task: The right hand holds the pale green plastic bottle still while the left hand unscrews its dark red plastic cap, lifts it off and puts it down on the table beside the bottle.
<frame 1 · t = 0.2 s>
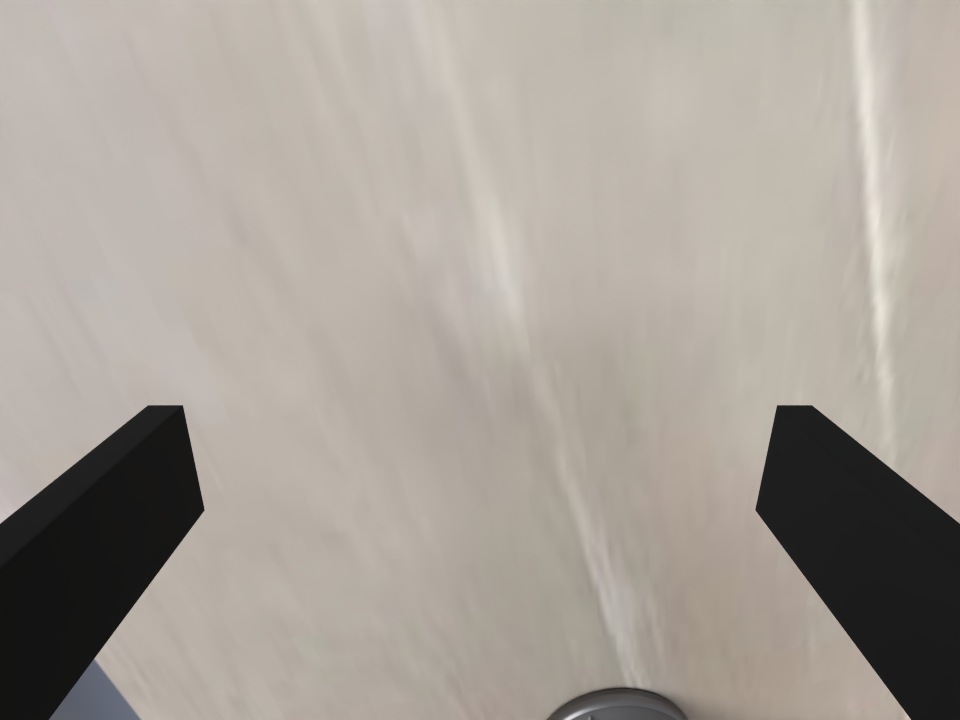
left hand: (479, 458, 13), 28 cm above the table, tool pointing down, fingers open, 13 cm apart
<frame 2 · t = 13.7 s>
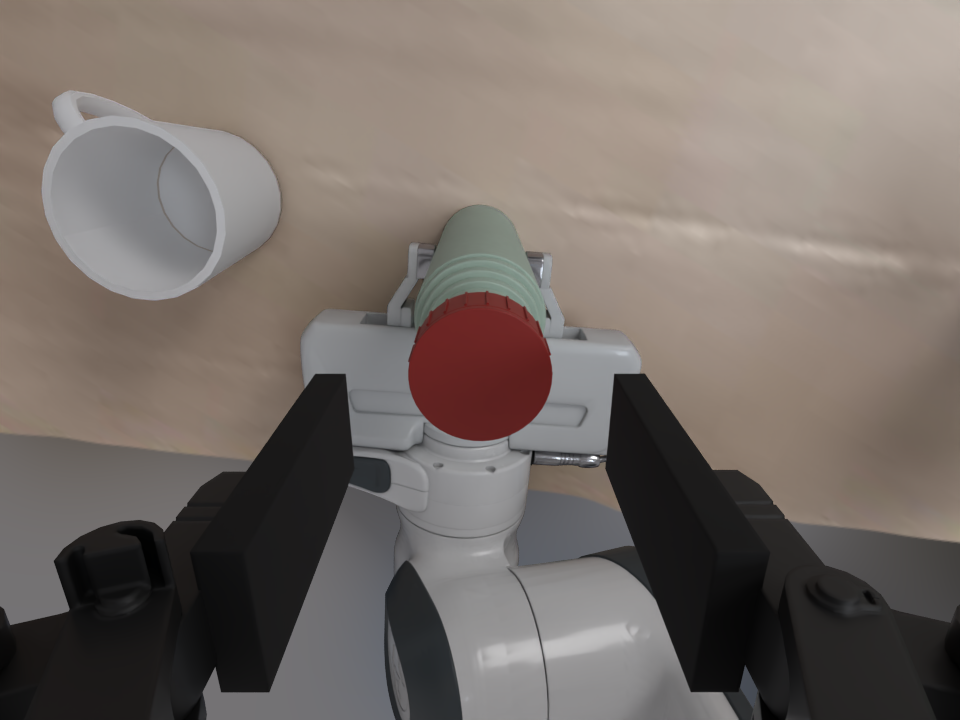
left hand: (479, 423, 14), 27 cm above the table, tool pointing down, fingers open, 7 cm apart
bottle: (479, 244, 39), on the table, touching right hand
cap: (480, 374, 18), point 23 cm above the table, screwed on, not yet turned
mug: (213, 180, 38), on the table
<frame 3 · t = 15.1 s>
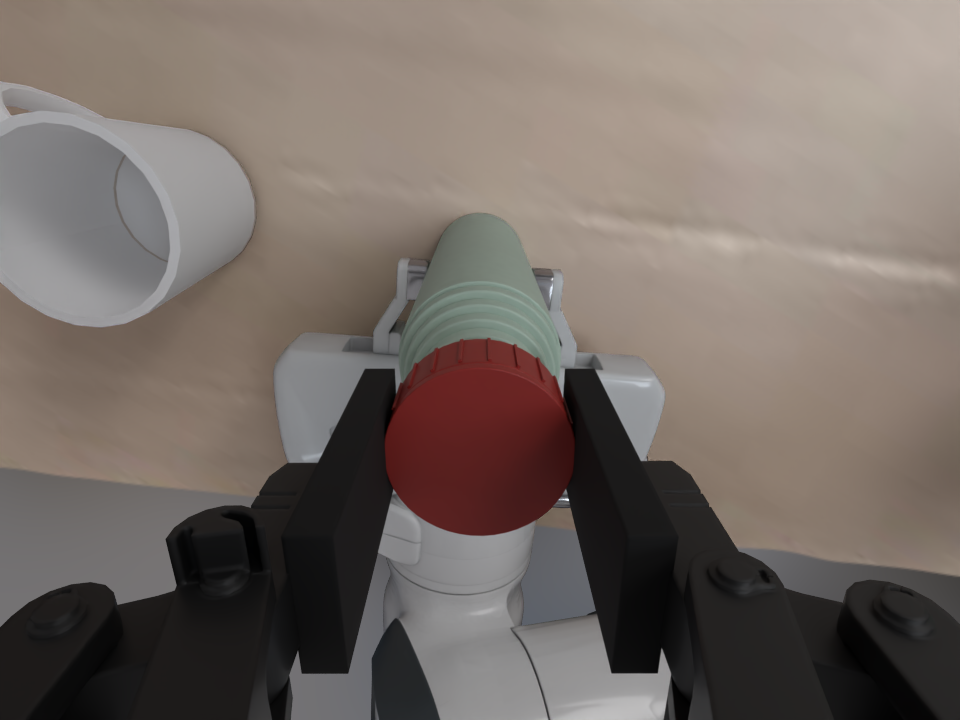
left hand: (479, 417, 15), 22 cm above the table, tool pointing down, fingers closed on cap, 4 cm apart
bottle: (479, 257, 35), on the table, touching right hand
cap: (479, 450, 13), point 23 cm above the table, screwed on, not yet turned, touching left hand
mug: (178, 185, 33), on the table
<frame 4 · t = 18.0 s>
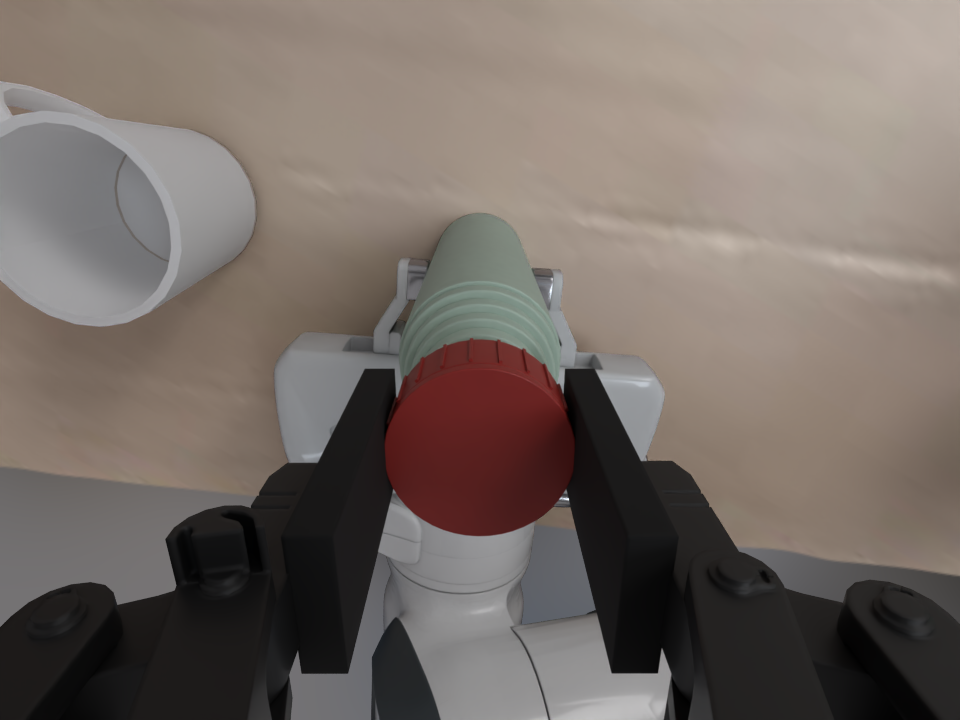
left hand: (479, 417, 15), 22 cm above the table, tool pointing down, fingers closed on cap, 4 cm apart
bottle: (479, 257, 35), on the table, touching right hand
cap: (479, 451, 13), point 23 cm above the table, turned 80° so far, risen 0.1 cm, still on its thread, touching left hand
mug: (179, 185, 34), on the table
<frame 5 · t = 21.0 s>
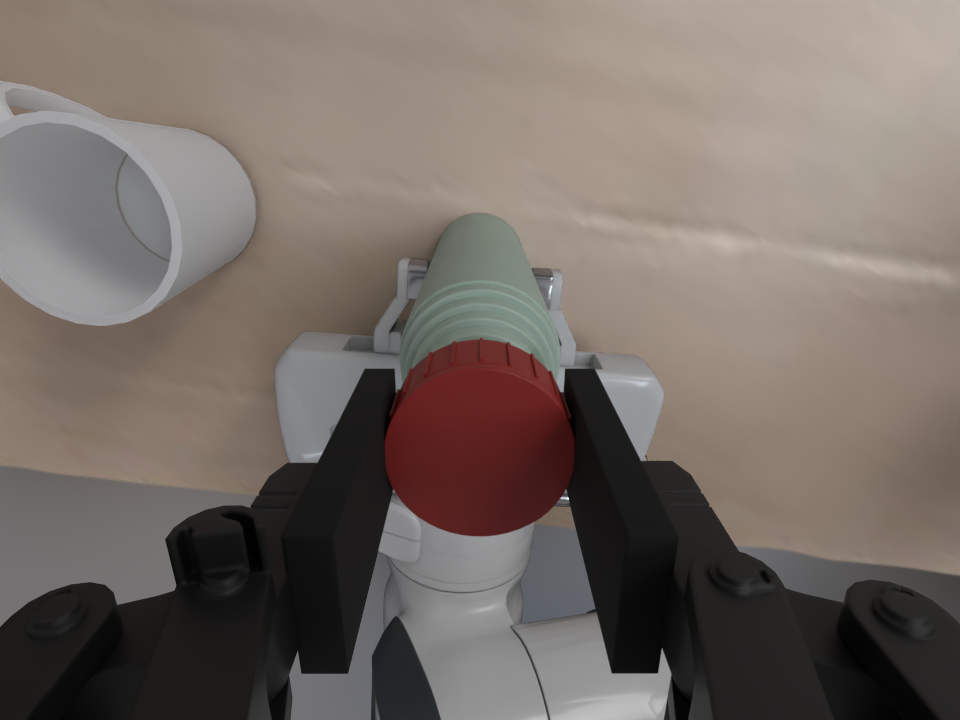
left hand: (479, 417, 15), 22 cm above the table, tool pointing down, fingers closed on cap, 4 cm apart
bottle: (479, 257, 35), on the table, touching right hand
cap: (479, 451, 13), point 23 cm above the table, turned 159° so far, risen 0.2 cm, still on its thread, touching left hand
mug: (180, 185, 34), on the table
when the left hand's fingers open (1 cm above the table, at t = 36.0 s): cap stays where it is, point 2 cm above the table.
when the right hand's fingers open (7 cm above the table, at t = 37.3 s): bottle stays where it is, on the table.
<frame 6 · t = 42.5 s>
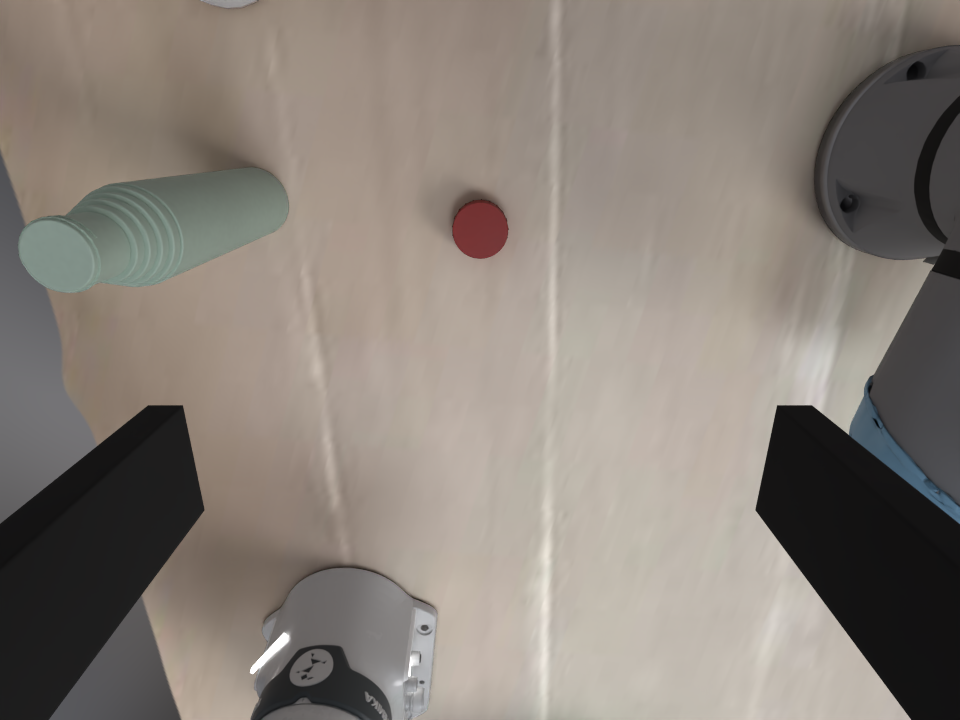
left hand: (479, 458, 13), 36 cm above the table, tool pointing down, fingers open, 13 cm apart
bottle: (255, 201, 46), on the table
cap: (480, 230, 45), point 2 cm above the table, off its thread
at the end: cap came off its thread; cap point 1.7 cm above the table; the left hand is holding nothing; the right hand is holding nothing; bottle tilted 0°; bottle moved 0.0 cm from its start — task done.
